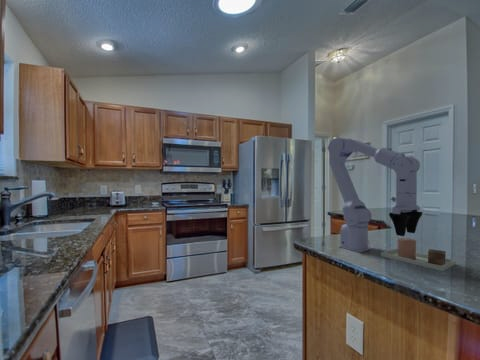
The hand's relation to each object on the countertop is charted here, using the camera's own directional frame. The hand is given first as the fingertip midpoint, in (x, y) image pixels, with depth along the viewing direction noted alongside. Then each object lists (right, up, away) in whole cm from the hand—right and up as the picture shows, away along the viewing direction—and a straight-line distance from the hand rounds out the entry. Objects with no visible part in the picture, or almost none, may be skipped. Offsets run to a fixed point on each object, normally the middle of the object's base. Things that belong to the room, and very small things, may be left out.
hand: (405, 234), depth 86 cm
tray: (+2, -8, -3) cm, 9 cm away
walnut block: (+5, -8, -7) cm, 12 cm away
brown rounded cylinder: (0, -8, 0) cm, 8 cm away
